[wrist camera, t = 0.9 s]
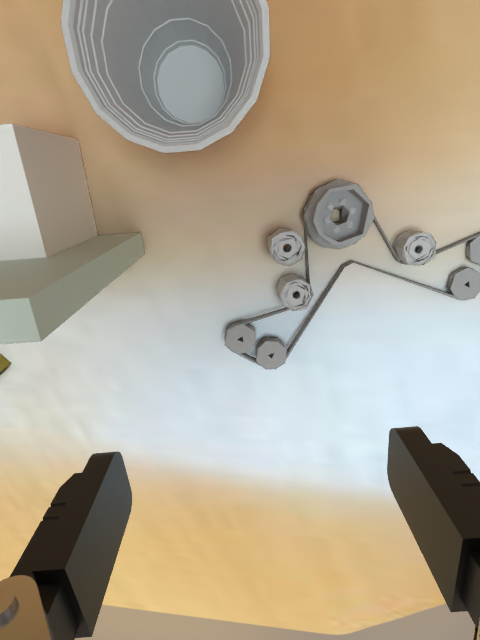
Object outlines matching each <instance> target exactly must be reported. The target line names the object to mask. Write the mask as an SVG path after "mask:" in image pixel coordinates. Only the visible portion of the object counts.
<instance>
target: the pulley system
mask: <svg viewBox="0 0 480 640" xmlns="http://www.w3.org/2000/svg"><path fill="white" fill-rule="evenodd" d="M312 194H313V196H312ZM312 194H311V195H310V198H309V200H308V202H307V204H306V206H305V208H304V209H303V217H304V239H305V244H304V242H303V239H302V237H301V236H300V235H299V234H298V233H296V232H295V231H293V230H289V229H282V228H279V229H278V230H277V231H275V232H274V233H273V234H272V235H270V236H269V237H268V250H269V254H270V256H271V257H272V258H273V259H274V260H275V261H276V262H277V263H279V264H281V265H286V266H291V265H293V264H294V263H296V262H298V261H300V260H301V259H302V258H303V254H304V251H305V258H306V274H307V281H306V280H305V279H304V278H303V277H302V276H298V275H291V274H288V275H286V276H284V277H281V278H280V281H279V283H278V286H277V292H278V295H279V297H280V299H281V301H282V303H283V305H284V306H285V307H286V308H282V309H279V310H276V311H273V312H269V313H266V314H263V315H260V316H256V317H253V318H250V319H246V320H243V321H240V322H237V323H233V324H231V325H230V326H228V327H227V330H226V332H225V346H226V347H227V348H229V349H230V350H231V351H232V352H234V353H236V354H238V355H240V356H242V357H244V358H246V359H248V360H250V361H252V362H254V363H256V364H258V365H260V366H262V367H263V368H265V369H277V368H278V367H280V366H281V365H283V364H284V363H285V360H286V359H287V357H288V356H289V354H290V352H291V351H292V349H293V348H294V346H295V345H296V343H297V341H298V340H299V338H300V337H301V335H302V333H303V332H304V330H305V329H306V327H307V326H308V324H309V322H310V321H311V319H312V318H313V316H314V315H315V313H316V311H317V310H318V308H319V307H320V305H321V303H322V302H323V300H324V299H325V297H326V296H327V294H328V292H329V291H330V289H331V288H332V286H333V285H334V283H335V281H336V280H337V278H338V277H339V275H340V273H341V272H342V270H343V269H344V267H346V266H348V265H349V264H351V263H353V262H354V263H357V264H360V265H363V266H365V267H368V268H371V269H374V270H377V271H380V272H382V273H385V274H388V275H391V276H394V277H396V278H399V279H402V280H405V281H408V282H411V283H413V284H416V285H419V286H422V287H425V288H428V289H430V290H433V291H436V292H439V293H442V294H444V295H447V296H450V297H453V298H456V299H458V300H468V299H473V298H475V297H476V296H477V294H478V293H479V292H480V273H478V272H477V271H475V270H473V269H471V268H466V269H463V268H459V269H457V270H455V271H454V272H453V273H451V274H450V275H449V278H448V285H447V287H446V290H447V293H446V292H443V291H440V290H437V289H434V288H431V287H429V286H426V285H423V284H420V283H417V282H414V281H411V280H408V279H405V278H402V277H399V276H396V275H393V274H390V273H388V272H385V271H382V270H379V269H376V268H373V267H370V266H367V265H364V264H361V263H358V262H355V261H349V262H347V263H344V264H342V265H341V267H340V268H339V270H338V271H337V273H336V275H335V276H334V278H333V279H332V281H331V282H330V284H329V285H328V287H327V288H326V290H325V292H324V293H323V295H322V296H321V298H320V299H319V301H318V302H317V304H316V305H315V307H314V309H313V310H312V312H311V313H310V315H309V316H308V318H307V319H306V321H305V322H304V324H303V325H302V327H301V329H300V330H299V332H298V333H297V335H296V336H295V338H294V339H293V341H292V342H291V344H290V346H289V347H288V349H286V348H285V347H284V343H283V342H281V341H280V340H279V339H278V338H264V339H263V340H262V341H261V342H260V343H259V344H258V346H257V350H256V355H257V359H256V358H254V357H252V356H250V355H248V354H246V353H248V352H250V350H251V349H252V347H253V346H254V344H255V343H256V335H255V330H254V327H252V326H250V325H249V324H247V323H250V322H253V321H257V320H260V319H263V318H266V317H269V316H272V315H275V314H278V313H281V312H284V311H287V310H292V311H297V310H303V309H307V308H308V306H309V303H310V301H311V299H312V297H313V292H312V289H311V285H310V279H309V264H308V249H307V234H306V229H307V233H308V234H309V235H310V236H311V237H312V238H313V241H315V242H317V243H318V244H319V245H320V246H323V247H324V248H332V249H342V248H345V247H347V246H350V245H353V244H356V243H357V241H358V240H360V239H361V238H363V237H364V236H365V235H366V233H367V231H368V229H369V227H370V225H371V224H372V222H373V221H374V223H375V224H376V226H377V228H378V230H379V232H380V233H381V235H382V237H383V239H384V241H385V242H386V244H387V246H388V248H389V250H390V251H391V253H392V255H393V257H394V259H395V260H396V261H398V262H399V263H402V264H409V265H416V266H420V265H424V264H426V263H428V262H429V261H431V260H433V259H434V258H435V255H436V254H438V253H440V252H443V251H445V250H447V249H450V248H452V247H455V246H457V245H459V244H462V243H464V242H466V241H469V240H470V242H469V243H468V244H467V245H466V256H467V257H468V258H469V259H470V261H471V262H472V263H476V264H478V265H480V232H479V233H476V234H474V235H471V236H469V237H467V238H465V239H462V240H460V241H458V242H455V243H453V244H451V245H448V246H446V247H443V248H441V249H439V250H436V241H435V240H434V238H433V237H432V235H431V234H429V233H425V232H417V231H406V232H403V233H402V234H400V235H399V236H398V237H396V239H395V241H394V243H393V247H392V246H391V244H390V242H389V241H388V239H387V237H386V235H385V234H384V232H383V230H382V228H381V227H380V225H379V223H378V221H377V220H376V218H375V216H374V213H373V207H372V202H371V200H370V199H369V198H368V197H367V195H366V194H365V193H364V191H363V190H362V189H361V187H360V186H359V185H358V184H355V183H351V182H347V181H344V180H339V179H336V180H334V181H332V182H331V183H329V184H326V185H322V186H319V187H318V188H317V190H315V192H314V193H312ZM333 209H342V213H341V221H340V222H333V221H332V220H331V219H330V217H331V214H332V211H333ZM286 244H288V247H287V249H285V250H283V246H284V245H286ZM401 261H402V262H401ZM295 291H296V292H295ZM294 292H295V293H294Z"/></svg>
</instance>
